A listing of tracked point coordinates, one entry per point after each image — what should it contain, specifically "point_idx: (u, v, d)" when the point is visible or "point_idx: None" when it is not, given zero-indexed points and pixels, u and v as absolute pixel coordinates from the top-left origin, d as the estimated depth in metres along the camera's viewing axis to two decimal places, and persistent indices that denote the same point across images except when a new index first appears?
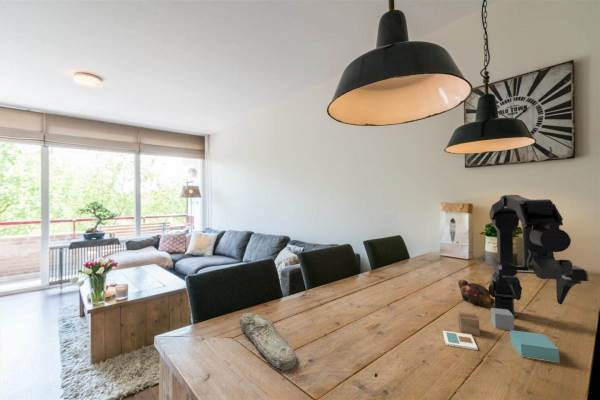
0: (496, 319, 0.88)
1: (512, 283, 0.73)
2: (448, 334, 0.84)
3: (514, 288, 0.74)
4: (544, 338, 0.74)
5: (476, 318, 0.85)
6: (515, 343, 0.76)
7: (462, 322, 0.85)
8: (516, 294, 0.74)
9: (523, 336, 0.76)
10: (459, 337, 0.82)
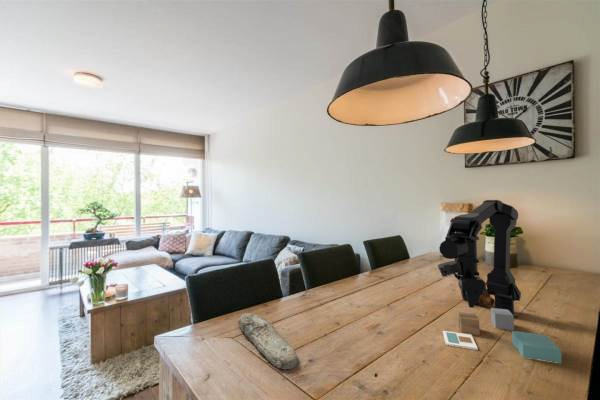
0: (496, 319, 0.88)
1: (459, 281, 0.93)
2: (448, 334, 0.84)
3: None
4: (546, 339, 0.74)
5: (476, 318, 0.85)
6: (517, 344, 0.75)
7: (462, 322, 0.85)
8: None
9: (525, 337, 0.75)
10: (459, 337, 0.82)
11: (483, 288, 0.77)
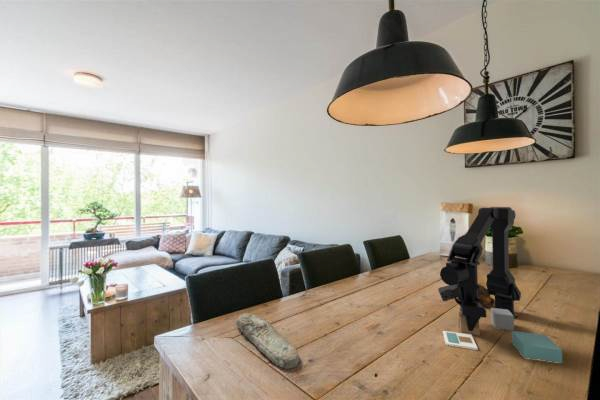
0: (496, 319, 0.88)
1: None
2: (448, 334, 0.84)
3: None
4: (546, 339, 0.74)
5: None
6: (517, 344, 0.75)
7: (462, 322, 0.85)
8: None
9: (525, 337, 0.75)
10: (459, 337, 0.82)
11: (484, 316, 0.77)
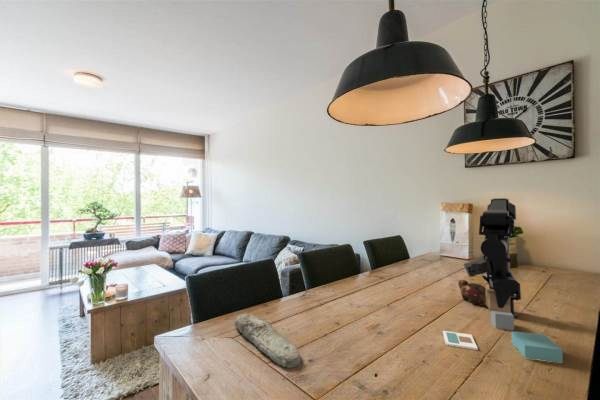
0: (496, 319, 0.88)
1: (488, 283, 0.85)
2: (448, 334, 0.84)
3: (490, 288, 0.84)
4: (545, 338, 0.74)
5: None
6: (517, 345, 0.75)
7: (491, 299, 0.79)
8: None
9: (525, 337, 0.75)
10: (459, 337, 0.82)
11: (517, 289, 0.71)
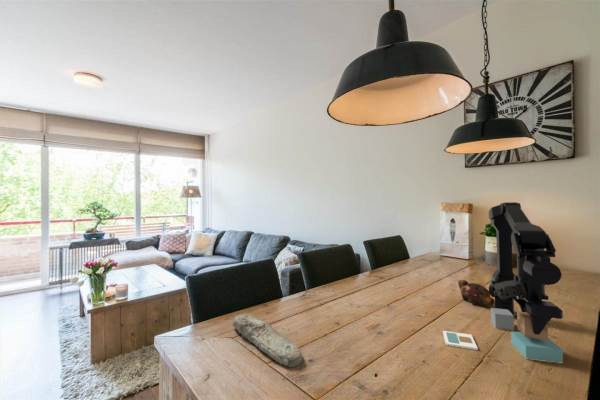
0: (496, 319, 0.88)
1: (519, 305, 0.79)
2: (448, 334, 0.84)
3: (521, 311, 0.78)
4: None
5: None
6: (517, 345, 0.75)
7: (526, 324, 0.73)
8: None
9: (525, 337, 0.75)
10: (459, 337, 0.82)
11: (560, 317, 0.65)
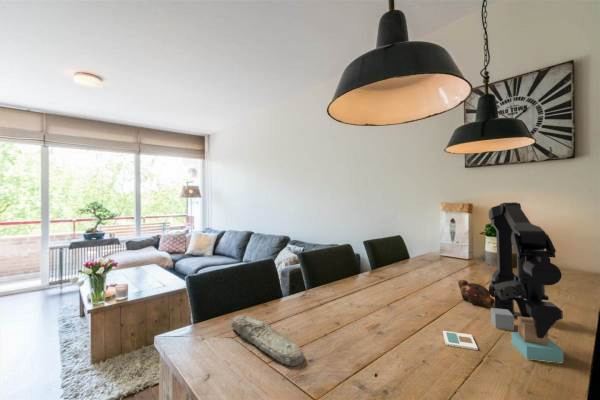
0: (496, 319, 0.88)
1: (517, 303, 0.80)
2: (448, 334, 0.84)
3: (519, 309, 0.80)
4: None
5: None
6: (518, 346, 0.75)
7: (526, 329, 0.73)
8: (521, 315, 0.79)
9: None
10: (459, 337, 0.82)
11: (560, 317, 0.65)
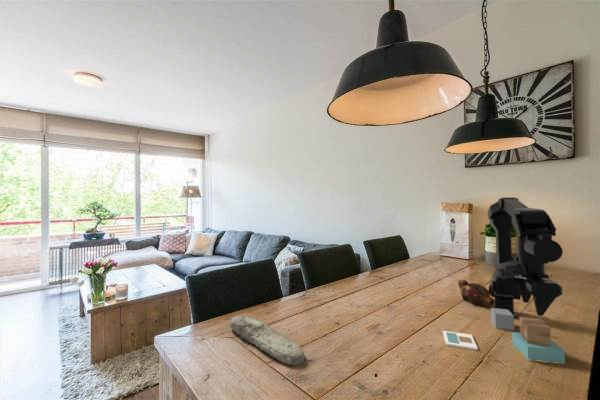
0: (496, 319, 0.88)
1: (517, 284, 0.81)
2: (448, 334, 0.84)
3: (519, 289, 0.81)
4: None
5: (545, 325, 0.72)
6: (519, 346, 0.75)
7: (528, 330, 0.72)
8: (521, 295, 0.80)
9: None
10: (459, 337, 0.82)
11: (559, 293, 0.66)
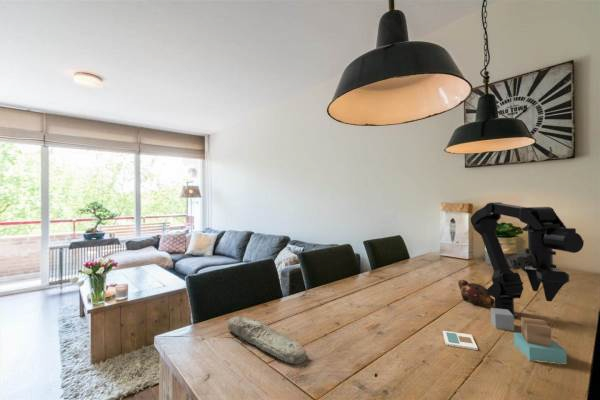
0: (496, 319, 0.88)
1: (527, 274, 0.90)
2: (448, 334, 0.84)
3: (529, 279, 0.89)
4: None
5: (546, 325, 0.71)
6: (521, 346, 0.74)
7: (528, 330, 0.72)
8: (531, 285, 0.89)
9: None
10: (459, 337, 0.82)
11: (567, 280, 0.74)
